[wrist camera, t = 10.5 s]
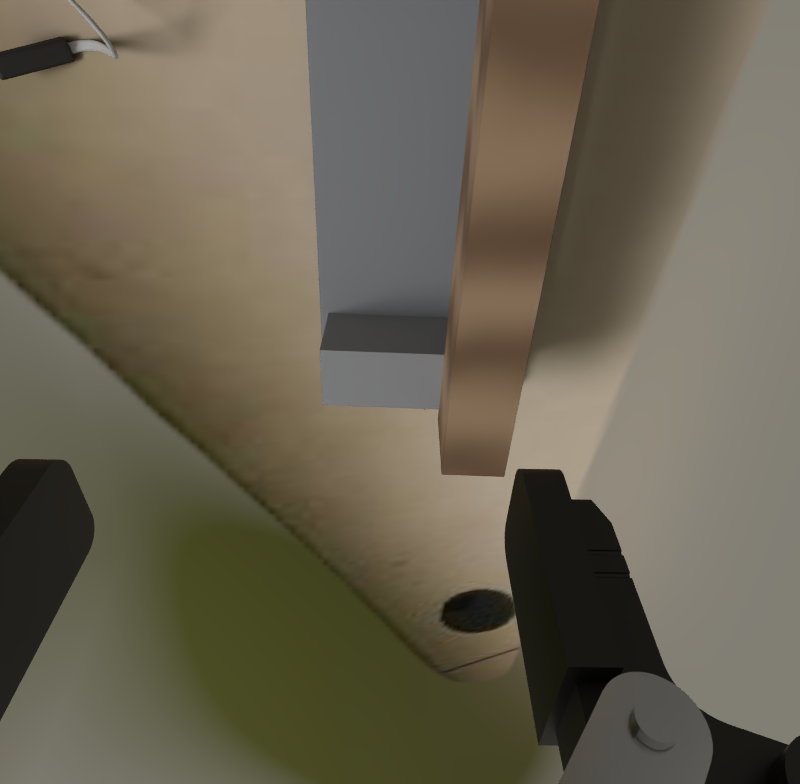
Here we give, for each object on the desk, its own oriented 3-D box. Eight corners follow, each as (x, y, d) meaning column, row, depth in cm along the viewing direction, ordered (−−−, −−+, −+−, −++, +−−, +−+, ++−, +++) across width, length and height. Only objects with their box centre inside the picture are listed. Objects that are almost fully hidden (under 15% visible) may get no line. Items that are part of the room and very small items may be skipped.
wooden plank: (501, -217, 20) (524, -264, 16) (602, -211, 20) (650, -257, 16) (438, 418, 36) (441, 474, 32) (493, 420, 36) (504, 476, 32)
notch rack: (300, -213, 24) (254, -292, 17) (608, -198, 24) (693, -269, 17) (326, 376, 42) (309, 461, 35) (505, 383, 42) (526, 469, 35)
